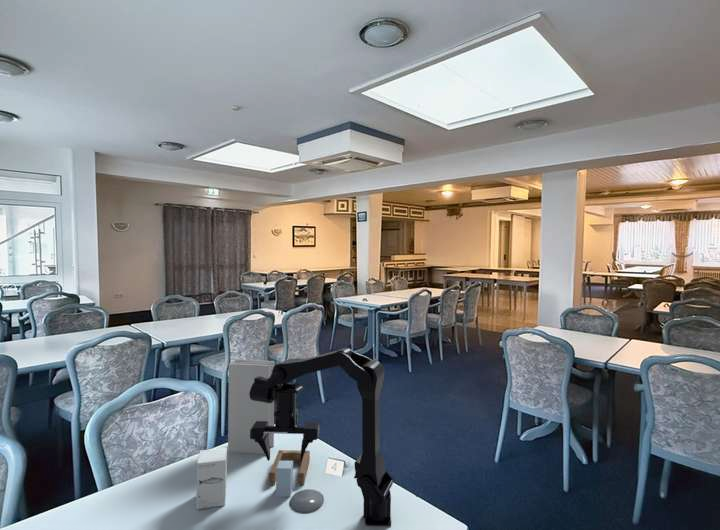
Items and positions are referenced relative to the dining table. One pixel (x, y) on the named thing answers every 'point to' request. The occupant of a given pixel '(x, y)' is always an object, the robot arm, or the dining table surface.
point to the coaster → (307, 500)
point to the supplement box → (211, 478)
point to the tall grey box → (247, 405)
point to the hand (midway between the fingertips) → (285, 460)
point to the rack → (295, 457)
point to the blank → (284, 479)
